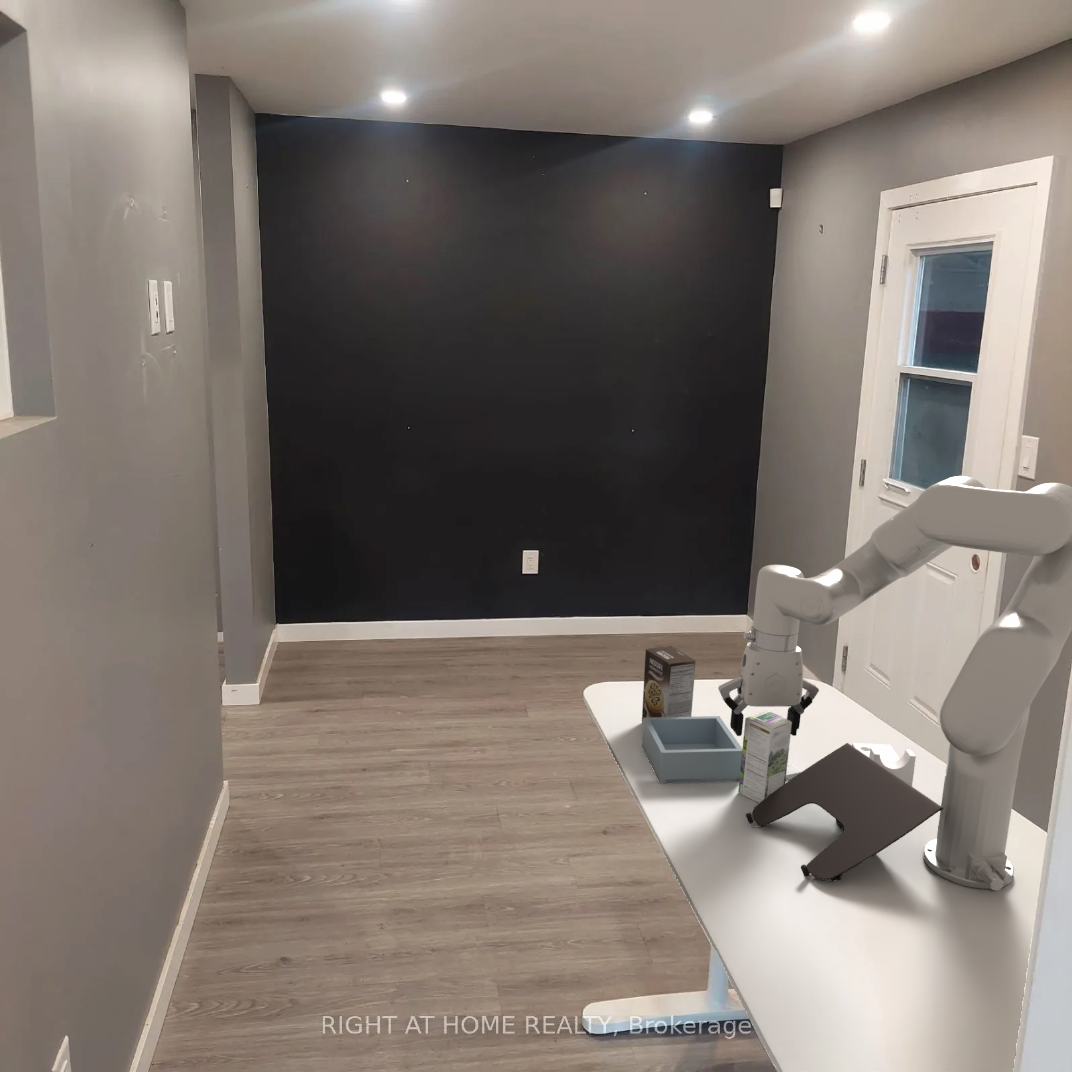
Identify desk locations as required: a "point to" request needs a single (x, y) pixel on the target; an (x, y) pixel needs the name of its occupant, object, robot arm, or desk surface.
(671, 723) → the bin
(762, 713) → the syrup box
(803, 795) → the portable electronic device stand
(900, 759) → the bracket
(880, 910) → the desk surface
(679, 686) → the coffee box
